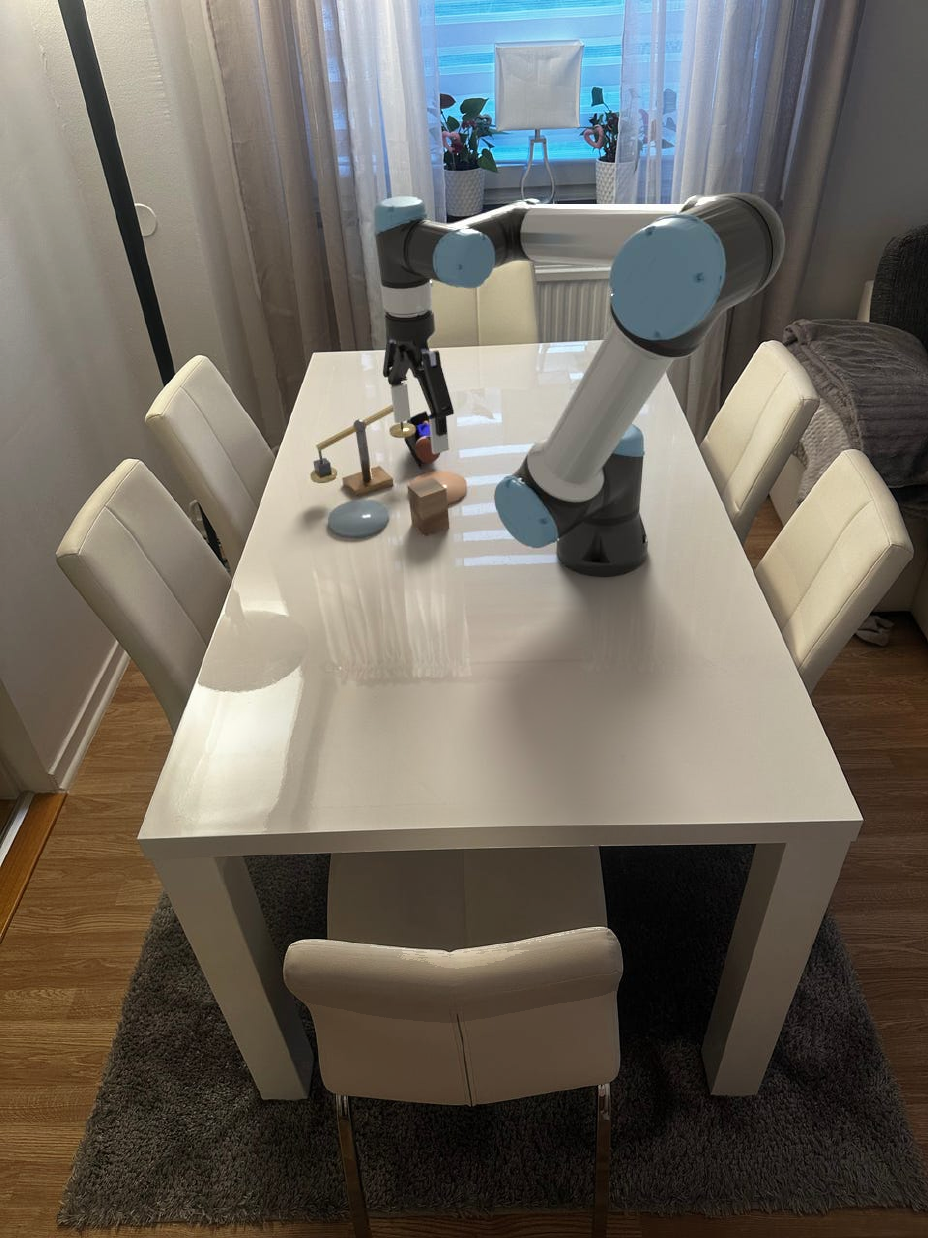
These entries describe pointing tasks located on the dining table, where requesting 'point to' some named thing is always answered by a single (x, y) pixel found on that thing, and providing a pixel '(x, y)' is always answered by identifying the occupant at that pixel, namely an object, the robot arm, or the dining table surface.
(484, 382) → the dining table surface
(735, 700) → the dining table surface
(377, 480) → the balance
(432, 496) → the block
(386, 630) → the dining table surface
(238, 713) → the dining table surface
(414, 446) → the character figurine
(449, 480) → the peach glossy dome
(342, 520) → the blue gray round dish
